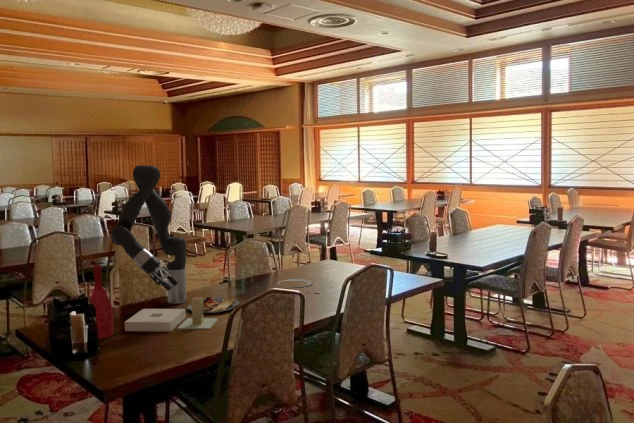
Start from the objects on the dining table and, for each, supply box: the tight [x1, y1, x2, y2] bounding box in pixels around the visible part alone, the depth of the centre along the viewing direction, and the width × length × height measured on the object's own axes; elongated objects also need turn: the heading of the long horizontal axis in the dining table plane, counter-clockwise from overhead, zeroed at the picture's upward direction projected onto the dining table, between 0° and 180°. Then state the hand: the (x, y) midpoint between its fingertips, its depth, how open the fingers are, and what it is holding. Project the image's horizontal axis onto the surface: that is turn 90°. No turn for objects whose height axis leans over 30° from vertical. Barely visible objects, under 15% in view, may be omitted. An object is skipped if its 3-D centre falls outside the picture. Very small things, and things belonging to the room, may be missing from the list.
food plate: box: [186, 296, 240, 314], centre depth 265 cm, size 25×23×4 cm
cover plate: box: [124, 308, 187, 332], centre depth 240 cm, size 20×20×4 cm
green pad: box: [177, 317, 219, 330], centre depth 239 cm, size 14×14×1 cm
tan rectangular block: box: [190, 296, 205, 324], centre depth 239 cm, size 5×4×11 cm
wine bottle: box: [89, 264, 115, 340], centre depth 224 cm, size 10×10×30 cm
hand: (173, 286), depth 238 cm, fingers open, 8 cm apart
